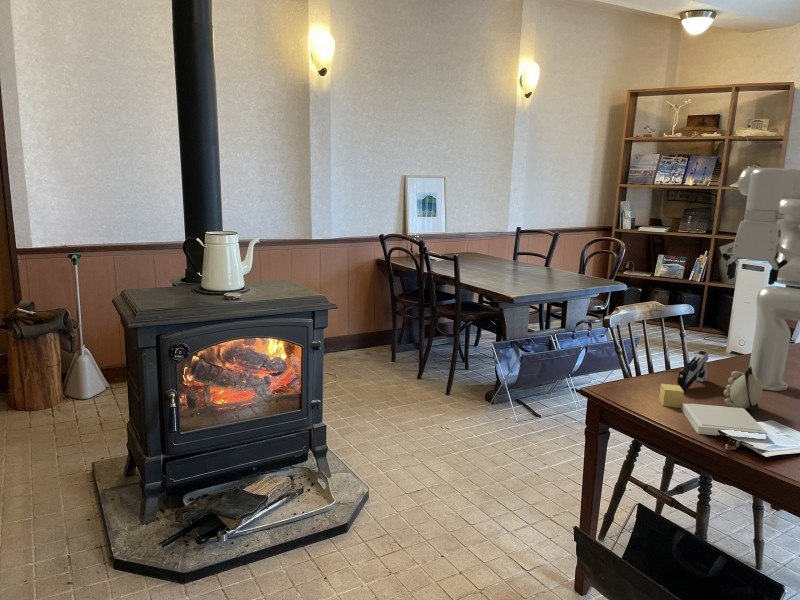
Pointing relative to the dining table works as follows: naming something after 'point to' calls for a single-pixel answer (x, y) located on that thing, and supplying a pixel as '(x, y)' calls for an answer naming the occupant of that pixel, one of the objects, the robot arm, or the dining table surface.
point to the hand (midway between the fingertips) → (750, 281)
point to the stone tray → (720, 419)
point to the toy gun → (694, 370)
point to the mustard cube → (671, 395)
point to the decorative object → (743, 390)
